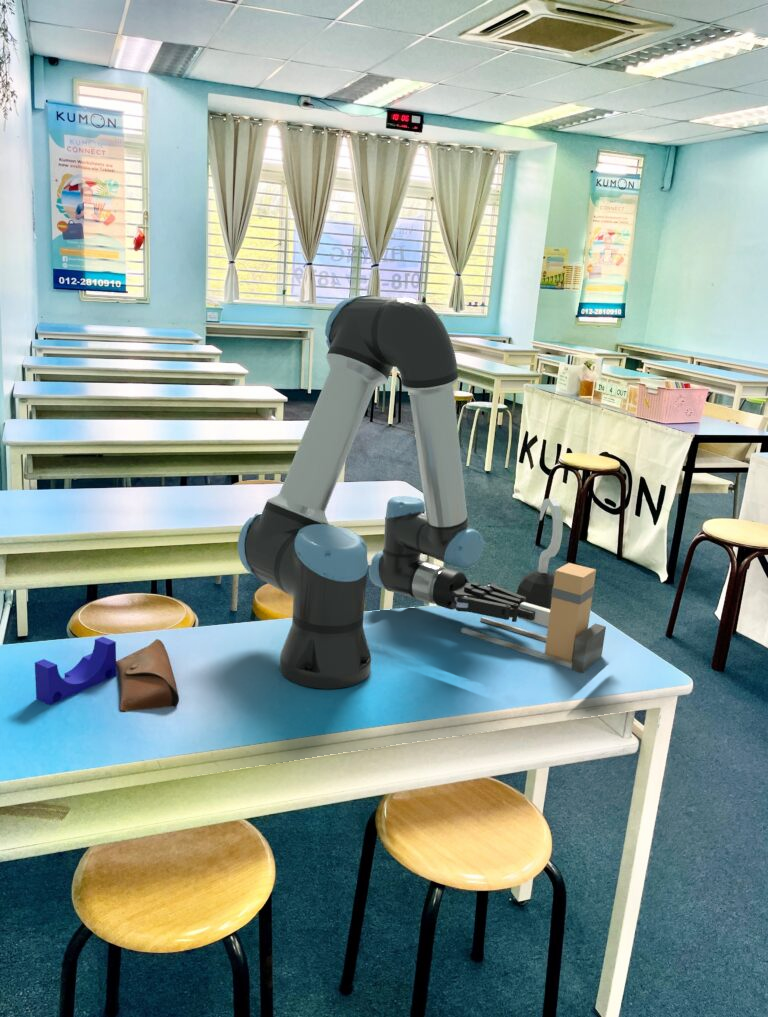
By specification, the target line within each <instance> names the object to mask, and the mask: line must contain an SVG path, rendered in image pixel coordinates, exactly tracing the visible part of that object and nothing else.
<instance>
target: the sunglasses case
mask: <svg viewBox="0 0 768 1017" xmlns="http://www.w3.org/2000/svg"><path fill="white" fill-rule="evenodd" d="M168 654H169V653H168V651H167V650H166V647H165V644H164V643H163V641H162V640H161V639H159V638H156V639H155V640H154V641H153V642H151V643H150V644H149V645H148V646H145V647H143V648H141V649H139V650H137V651H135V652H133V653H130V654H128V655H126V656H124V657H122V658H120V659H118V660H116V670H117V672H118V679H119V685H120V686H119V687H120V688H119V689H120V705H119V711H120V712H124V713H127V712H132V711H133V712H134V711H142V710H152V709H153V710H154V709H163V708H171V707H174V708H176V707H177V706H178V704H179V701H180V695H179V692H178V687H177V683H176V679H175V678H176V677H175V675H174V672H173V668H172V664H171V661H170V657H169V655H168Z"/></svg>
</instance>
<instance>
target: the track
mask: <svg viewBox="0 0 768 1017" xmlns="http://www.w3.org/2000/svg"><path fill="white" fill-rule="evenodd" d="M480 622H482V623H485V624H488V625H490V626H491V625H492V626H494V627H498V628H501V629H504V630H507V631H510V632H514V633H517V634H520V635H523V636H525V637H529V638H533V639H535V640H539V641H542V642H545V643H546V639H547V635H542V634H540V633H537V632H533V631H530V630H526V629H523V628H520V627H517V626H514V625H511V624H507V623H504V622H501V621H497V620H494V619H491V618H487V617H484V616H481V617H480ZM606 629H607V626H605V625H603V624H602V625H601V624H599V623H598V624H597V623H594V624H593V625H591V626H590V627H588V629H587V630H586V631H584V632H583V633H582V634H581V635H579V636H578V637H577V638H576V639H575V646H574V654H573V661H572V662H569V661H566V660H563V659H560V658H557V657H554V656H550V655H547V654H545V652H541V651H539V650H535V649H532V648H529V647H525V646H522V645H519V644H516V643H513V642H510V641H507V640H504V639H501V638H497V637H494V636H491V635H489V634H485V633H482V632H479V631H476V630H473V629H470V628H468V627H461V629H460V632H461V633H463V634H466V635H469V636H472V637H474V638H479V639H481V640H484V641H487V642H491V643H493V644H497V645H499V646H502V647H505V648H509V649H512V650H515V651H517V652H520V653H523V654H527V655H530V656H532V657H535V658H539V659H543V660H545V661H548V662H551V663H554V664H557V665H560V666H564V667H566V668H570V669H571V670H572V671H575V672H578V673H581V674H583V673H584V672H586V671H587V670H588V669H589V668H591V666H593V665H594V664H595V662H597V661H598V660H599V659H601V658H602V656H603V649H604V643H605V635H606Z"/></svg>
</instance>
